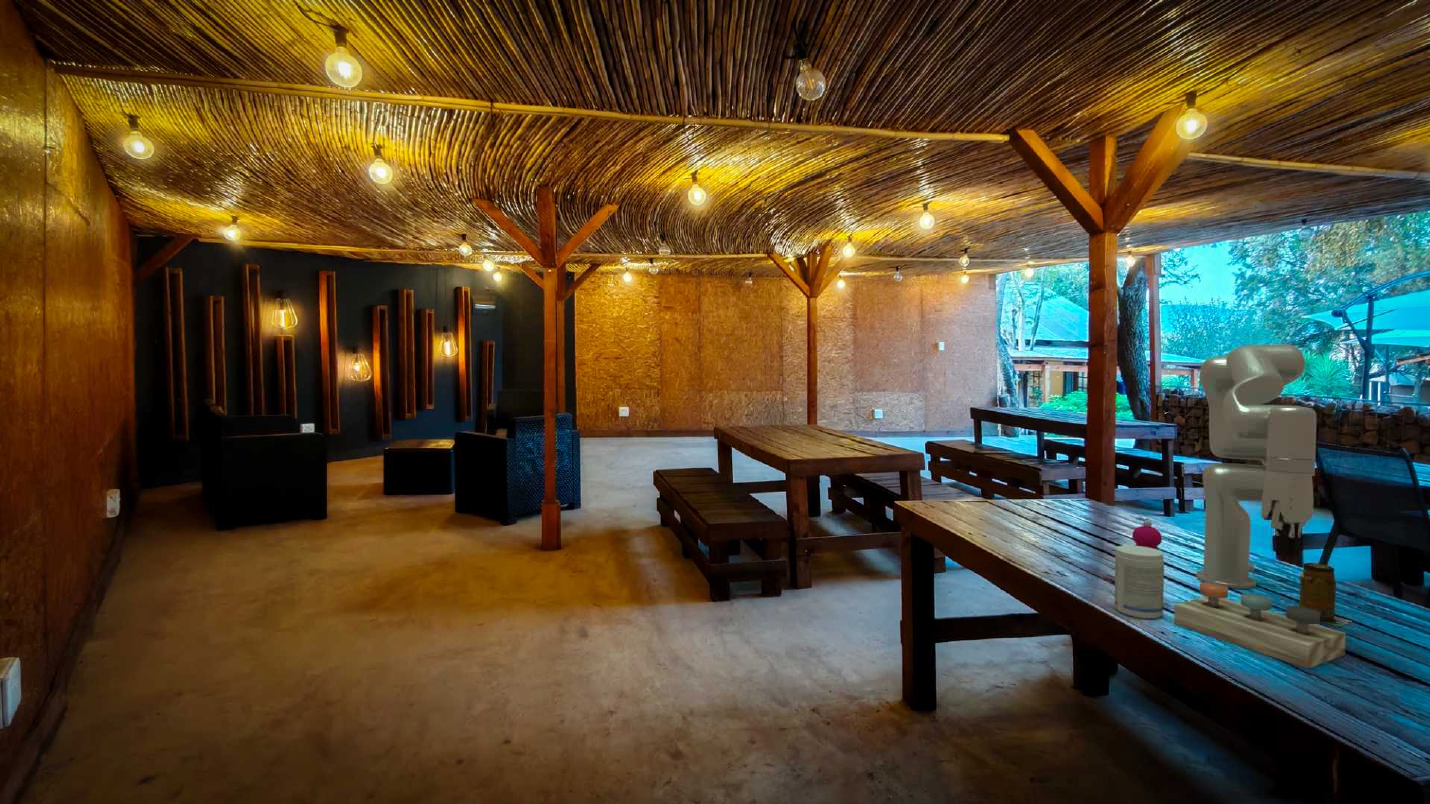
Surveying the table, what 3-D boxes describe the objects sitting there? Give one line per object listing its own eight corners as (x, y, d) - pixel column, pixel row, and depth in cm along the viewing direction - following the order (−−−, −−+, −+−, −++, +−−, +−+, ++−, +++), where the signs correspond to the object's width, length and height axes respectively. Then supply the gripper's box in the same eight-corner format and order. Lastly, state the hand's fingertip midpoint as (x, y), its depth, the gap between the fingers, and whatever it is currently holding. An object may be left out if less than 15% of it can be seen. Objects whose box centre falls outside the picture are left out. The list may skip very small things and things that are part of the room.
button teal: (1248, 615, 141) (1249, 592, 141) (1275, 623, 137) (1276, 599, 136) (1234, 619, 139) (1235, 595, 139) (1262, 627, 135) (1263, 603, 134)
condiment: (1305, 609, 155) (1308, 559, 154) (1352, 622, 147) (1355, 569, 147) (1289, 614, 152) (1292, 563, 151) (1337, 627, 144) (1339, 574, 143)
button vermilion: (1207, 603, 149) (1208, 581, 148) (1232, 610, 144) (1233, 588, 144) (1194, 607, 146) (1194, 584, 146) (1219, 614, 142) (1219, 591, 142)
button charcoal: (1293, 628, 134) (1294, 604, 134) (1324, 638, 129) (1325, 612, 129) (1280, 633, 132) (1281, 608, 132) (1311, 642, 127) (1312, 616, 127)
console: (1211, 614, 152) (1211, 595, 152) (1344, 655, 130) (1345, 632, 130) (1174, 624, 146) (1174, 604, 146) (1307, 668, 124) (1308, 645, 124)
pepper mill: (1168, 607, 156) (1171, 524, 155) (1134, 605, 158) (1137, 522, 157) (1154, 596, 164) (1157, 517, 163) (1122, 595, 165) (1124, 516, 164)
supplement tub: (1173, 618, 150) (1175, 554, 149) (1138, 621, 148) (1140, 557, 147) (1137, 603, 159) (1138, 543, 158) (1104, 606, 157) (1105, 546, 156)
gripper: (1287, 463, 141) (1285, 548, 141) (1248, 466, 135) (1245, 555, 135) (1332, 467, 134) (1329, 556, 135) (1292, 470, 128) (1290, 563, 128)
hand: (1287, 555), depth 135 cm, fingers closed
